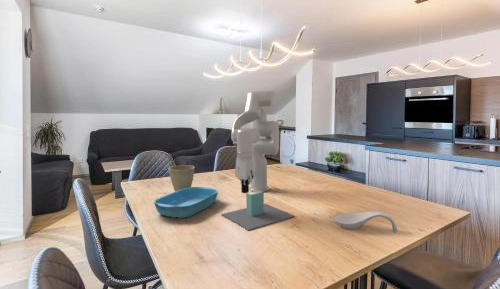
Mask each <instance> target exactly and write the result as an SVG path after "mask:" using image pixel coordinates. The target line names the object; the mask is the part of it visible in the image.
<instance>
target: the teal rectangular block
mask: <svg viewBox="0 0 500 289" xmlns="http://www.w3.org/2000/svg"><path fill="white" fill-rule="evenodd" d="M245 194H246V198H245V199H246V200H245V201H246V208H247V214H248V215H250V216H255V215H259V214H263V213H264V204H265V203H264V202H265V200H264V192H261V191H250V192H248V193H245Z"/></svg>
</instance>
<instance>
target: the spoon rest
mask: <svg viewBox="0 0 500 289" xmlns="http://www.w3.org/2000/svg"><path fill="white" fill-rule="evenodd" d="M377 217H378V218H379V217H381V218H384V219H387V220H388V221H389V222H390V223H391V227H392V228H391V229H392V231H393V232H394V233H396V234H397V233H398V227H397V224H396V222H395V220H394V219H393V217H392V216H390V214H387V213H385V212H382V211H366V212H351V213H349V212H348V213H340V214H337V215H336V216H335V217H334V220H335V222H336V224H337V225H339V226H340V227H341V228H343V229H347V230H351V231H352V230H357V229H359V228H360V227H362V226H363V225H365V224H366V223H367V222H368V221H370V220H372V219H373V218H374V219H375V218H377Z"/></svg>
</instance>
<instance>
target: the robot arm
mask: <svg viewBox="0 0 500 289" xmlns="http://www.w3.org/2000/svg"><path fill="white" fill-rule="evenodd" d="M276 103H277V94H276V91H273V90H254V91H249V92H248V93H247V95H246V101H245V106H244V112H242V113H241V114H240V115H239V116H238V117H237V118H236V119H235V120H234V122H233V123H232V124H233V125H232V129H231V135H230V139H231V141H232V142H233V143H235V144H236V159H235V172H234V173H235V177H236V178H237V180H239V181H240V185H241V188H240V189H241V194H246V193H249V191H250V192H254V191H261V192H268V191H270V189H271V187H269V185H268V161H267V159H266V157H265V156H264V155H277V154H278V152H279V149H280V141H279V140H280V138H279V137H280V131H279V130H280V128H279V123H278V122H277V121H275V120H267V119H268V118H267V116H268V115H267V112H266V109H265V107H273V106H275V105H276ZM250 123H252V128H247V127H245V128H243V126H245V125H247V124H250ZM261 137H268V138H261ZM269 137H270V138H269ZM249 186H250V187H249Z"/></svg>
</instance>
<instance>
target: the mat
mask: <svg viewBox="0 0 500 289" xmlns="http://www.w3.org/2000/svg"><path fill="white" fill-rule="evenodd" d="M221 216H222V217H224V218H225V219H226V220H229V221H230V220H231V221H230V222H232V223H234V224H235V223H236V224H235V225H237V224H238V225H237V226H239V227H240V226H241V228H242V227H243V228H242V229H244V228H245V229H244V230H246V231H247V230H248V232H250V231H253V230H257V229H260V228H263V227H266V225H267V226H270V225H273V224H276V223H280V222H283V221H286V220H290V219H293V218H296V216H295V215H294V214H292V213H289V212H287V211H284V210H282V209H280V208H277V207H275V206H273V205H270V204H268V203H264V213H263V214H259V215H255V216H250V215H248V214H247V207H245V208H240V209H237V210H232V211H228V212H225V213H222V214H221ZM269 224H270V225H269ZM262 226H263V227H262ZM259 227H260V228H259ZM256 228H257V229H256ZM252 229H253V230H252ZM249 230H250V231H249Z"/></svg>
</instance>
